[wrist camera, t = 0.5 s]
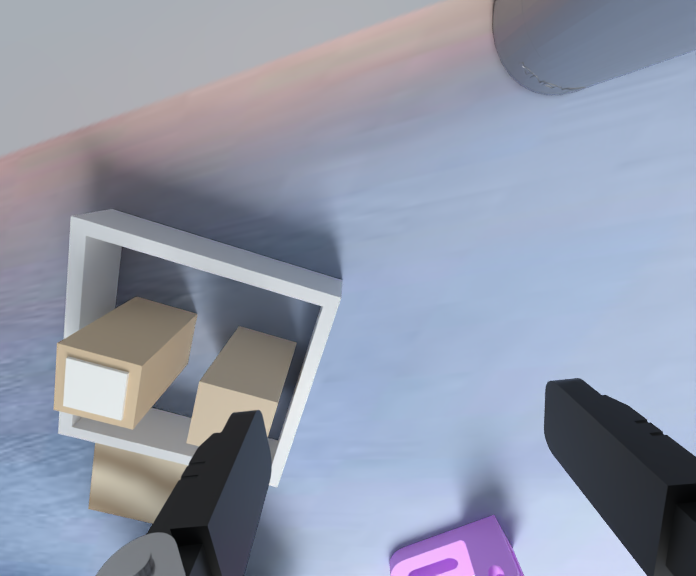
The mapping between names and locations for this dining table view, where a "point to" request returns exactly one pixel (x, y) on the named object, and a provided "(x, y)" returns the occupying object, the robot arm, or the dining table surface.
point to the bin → (197, 252)
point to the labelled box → (123, 362)
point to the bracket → (459, 553)
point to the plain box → (241, 382)
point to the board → (131, 483)
